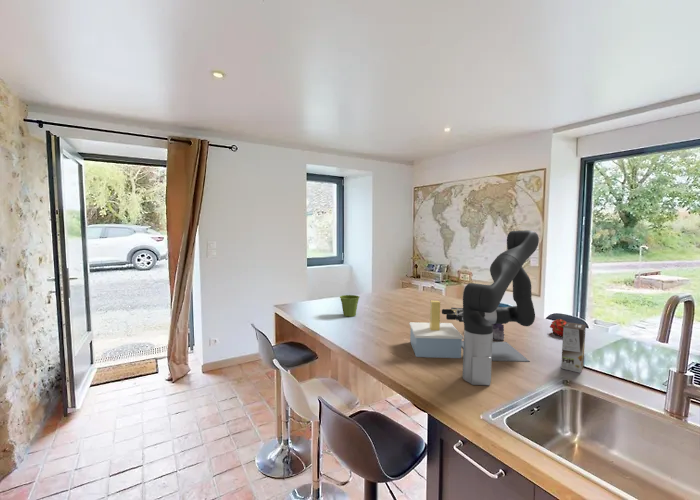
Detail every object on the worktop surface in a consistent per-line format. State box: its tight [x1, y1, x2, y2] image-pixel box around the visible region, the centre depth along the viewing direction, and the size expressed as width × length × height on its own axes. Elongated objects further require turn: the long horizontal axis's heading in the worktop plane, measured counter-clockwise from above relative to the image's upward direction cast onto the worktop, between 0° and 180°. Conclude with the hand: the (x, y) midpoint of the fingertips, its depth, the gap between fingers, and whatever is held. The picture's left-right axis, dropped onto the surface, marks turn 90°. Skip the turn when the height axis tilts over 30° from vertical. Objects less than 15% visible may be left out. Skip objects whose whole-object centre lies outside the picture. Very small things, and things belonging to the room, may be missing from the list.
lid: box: [408, 299, 464, 340], centre depth 144 cm, size 19×19×13 cm
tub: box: [409, 328, 463, 359], centre depth 145 cm, size 18×18×8 cm
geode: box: [492, 324, 506, 342], centre depth 166 cm, size 20×12×10 cm, turn 22°
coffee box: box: [560, 321, 587, 373], centre depth 127 cm, size 9×6×16 cm
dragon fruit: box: [549, 318, 568, 338], centre depth 166 cm, size 8×8×12 cm
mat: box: [461, 340, 530, 363], centre depth 144 cm, size 22×22×1 cm
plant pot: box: [339, 294, 361, 318], centre depth 199 cm, size 12×12×11 cm
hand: (444, 314), depth 144 cm, fingers open, 8 cm apart
